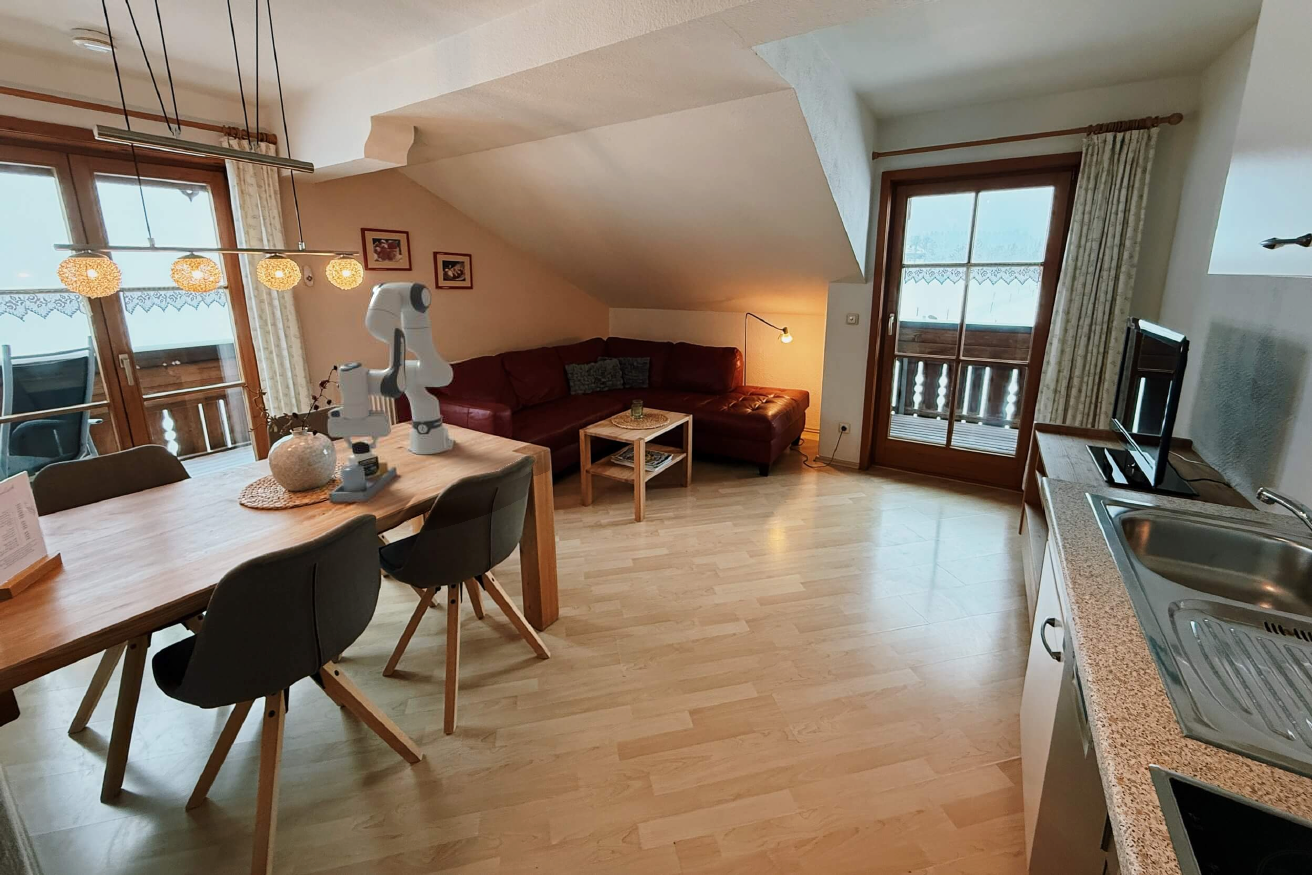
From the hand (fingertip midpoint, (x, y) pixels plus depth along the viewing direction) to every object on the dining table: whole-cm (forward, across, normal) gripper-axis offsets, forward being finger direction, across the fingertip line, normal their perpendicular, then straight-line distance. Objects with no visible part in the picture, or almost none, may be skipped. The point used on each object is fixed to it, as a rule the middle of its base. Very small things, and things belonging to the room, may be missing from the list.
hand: (362, 448), depth 203 cm
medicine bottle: (+10, 0, +1) cm, 10 cm away
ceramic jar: (+14, 0, +10) cm, 17 cm away
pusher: (+14, 0, -7) cm, 15 cm away
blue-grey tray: (+15, 0, +2) cm, 15 cm away
